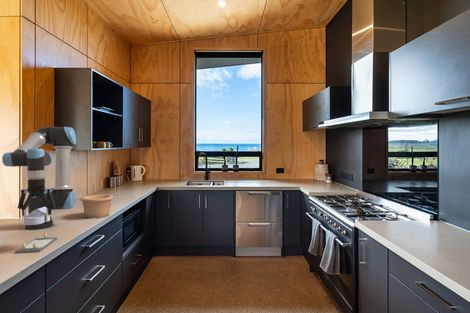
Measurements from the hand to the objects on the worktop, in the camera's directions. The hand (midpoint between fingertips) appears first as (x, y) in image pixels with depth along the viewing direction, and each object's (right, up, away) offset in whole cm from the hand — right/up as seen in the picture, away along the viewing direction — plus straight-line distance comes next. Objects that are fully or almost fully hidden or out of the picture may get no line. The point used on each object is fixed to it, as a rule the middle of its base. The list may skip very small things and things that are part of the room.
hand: (37, 221), depth 159 cm
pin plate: (0, -13, +1) cm, 13 cm away
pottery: (+1, -11, +68) cm, 69 cm away
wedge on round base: (0, 0, 0) cm, 0 cm away
